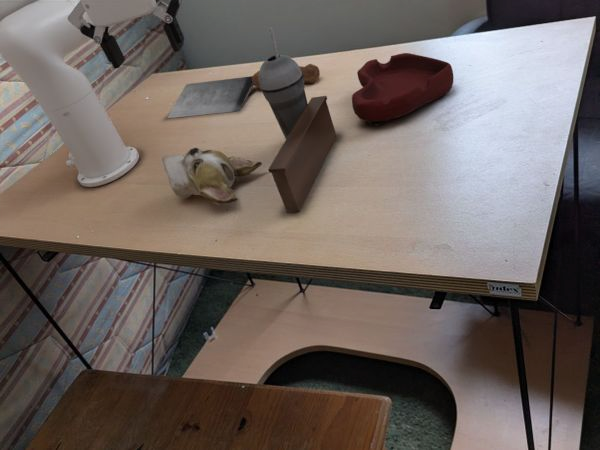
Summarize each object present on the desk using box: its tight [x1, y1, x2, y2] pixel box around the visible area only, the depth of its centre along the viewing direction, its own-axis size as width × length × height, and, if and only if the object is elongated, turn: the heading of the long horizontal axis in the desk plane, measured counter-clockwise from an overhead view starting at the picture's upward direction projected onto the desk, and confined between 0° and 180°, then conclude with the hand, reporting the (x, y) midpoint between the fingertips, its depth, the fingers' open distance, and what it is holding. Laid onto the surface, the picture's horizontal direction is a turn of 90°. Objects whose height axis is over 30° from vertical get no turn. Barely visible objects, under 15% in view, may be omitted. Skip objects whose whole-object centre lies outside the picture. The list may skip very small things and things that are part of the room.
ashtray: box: [351, 52, 455, 126], centre depth 94 cm, size 18×16×5 cm
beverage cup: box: [258, 27, 309, 140], centre depth 89 cm, size 7×7×20 cm
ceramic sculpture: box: [161, 147, 263, 206], centre depth 88 cm, size 11×9×15 cm
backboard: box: [267, 95, 338, 213], centre depth 84 cm, size 3×20×8 cm, turn 161°
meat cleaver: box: [167, 63, 321, 119], centre depth 117 cm, size 34×11×4 cm, turn 69°
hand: (149, 56), depth 81 cm, fingers open, 9 cm apart
